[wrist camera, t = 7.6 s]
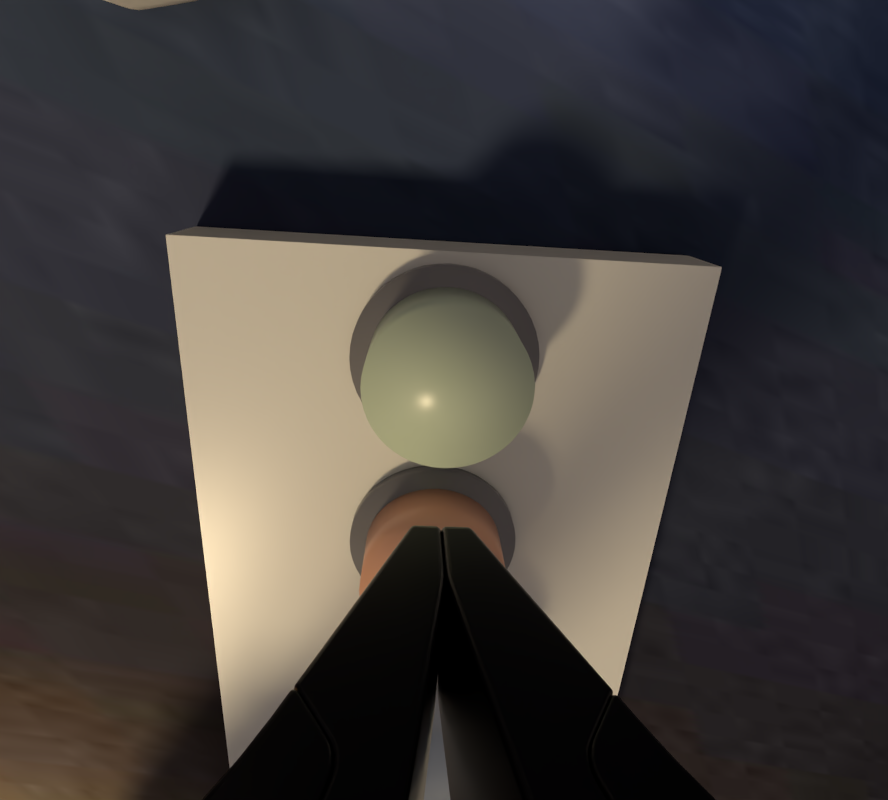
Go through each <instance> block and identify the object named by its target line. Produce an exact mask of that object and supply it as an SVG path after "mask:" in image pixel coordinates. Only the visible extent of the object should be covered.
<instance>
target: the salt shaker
mask: <svg viewBox="0 0 888 800" xmlns="http://www.w3.org/2000/svg"><path fill="white" fill-rule="evenodd" d="M105 1H108V2H111V3H114V4H117V5H120V6H123V7H126V8H129V9H135V10H144V9H150V8H156V7H162V6H168V5H174V4H181V3H187V2H193V1H198V0H105Z"/></svg>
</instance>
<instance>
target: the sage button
mask: <svg viewBox="0 0 888 800" xmlns="http://www.w3.org/2000/svg"><path fill="white" fill-rule="evenodd" d="M360 390H361V400H362V405H363V409H364V412H365V415H366V418H367V420H368V422H369V424H370V426H371V428H372V429H373V431H374V432H375V433H376V435H377V436H378V437H379V438H380V440H381V441H382V442H383V443H384V444H385V445H386V446H388V447H389V448H390V449H391V450H392V451H394V452H395V453H397V454H398V455H400V456H401V457H403V458H405V459H407V460H410V461H412V462H415V463H418V464H420V465H424V466H429V467H436V468H457V467H464V466H468V465H472V464H476V463H478V462H481V461H483V460H486V459H488V458H490V457H491V456H493V455H495V454H496V453H498V452H499V451H501V450H502V449H504V448H505V447H506V446H507V445H508V444H509V443H510V442H511V441H512V440H513V439H514V438H515V437H516V436H517V435H518V433H519V432H520V430H521V429H522V428H523V426H524V424H525V422H526V420H527V418H528V416H529V414H530V411H531V408H532V405H533V400H534V394H535V378H534V371H533V367H532V363H531V360H530V358H529V355H528V353H527V351H526V349H525V347H524V345H523V344H522V342H521V340H520V338H519V336H518V335H517V333H516V331H515V329H514V327H513V326H512V324H511V322H510V320H509V319H508V318H507V316H506V315H505V314H504V313H503V312H502V311H501V310H500V309H499V308H498V307H497V306H496V305H495V304H494V303H492V302H491V301H490V300H488V299H487V298H485V297H483V296H481V295H479V294H477V293H474V292H472V291H469V290H465V289H461V288H453V287H437V288H430V289H426V290H423V291H419V292H417V293H414V294H412V295H410V296H408V297H406V298H404V299H403V300H401V301H400V302H398V303H397V304H396V305H395V306H393V307H392V308H391V309H390V310H389V311H388V312H387V313H386V314H385V316H384V317H383V318H382V320H381V321H380V322H379V324H378V326H377V328H376V330H375V332H374V334H373V337H372V340H371V343H370V346H369V350H368V353H367V356H366V360H365V363H364V367H363V371H362V376H361V386H360Z"/></svg>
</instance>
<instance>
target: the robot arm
mask: <svg viewBox="0 0 888 800" xmlns="http://www.w3.org/2000/svg"><path fill="white" fill-rule="evenodd" d="M437 685H438V700H439V711H440V719H441V727H442V735H443V743H444V751H445V759H446V768H447V776H448V784H449V792H450V800H715V799H714V798H713V797H712V796H711V795H710V794H709V793H708V792H707V791H706V790H705V789H704V788H703V787H702V786H701V785H700V784H699V783H698V782H697V781H696V780H695V779H694V778H693V777H692V776H691V775H690V774H689V773H688V772H687V771H686V770H685V769H684V768H683V767H682V766H681V765H680V764H679V763H678V762H677V761H676V760H675V759H674V758H673V756H672V755H671V754H670V753H669V752H668V751H667V750H666V749H665V748H664V747H663V746H662V744H661V743H660V742H659V741H658V740H657V739H656V738H655V737H654V736H653V735H652V734H651V732H650V731H649V730H648V729H647V728H646V727H645V726H644V725H643V724H642V723H641V722H640V721H639V719H638V718H637V717H636V716H635V715H634V714H633V713H632V711H631V710H630V709H629V708H628V707H627V706H626V705H625V703H624V702H623V701H622V700H621V699H620V698H619V697H618V696H617V695H613V691H612V689H611V688H610V687H609V686H608V684H607V683H606V682H605V681H604V680H603V679H602V677H601V676H600V675H599V674H598V673H597V672H596V671H595V669H594V668H593V667H592V666H591V665H590V664H589V663H588V661H587V660H586V659H585V658H584V657H583V656H582V655H581V653H580V652H579V651H578V650H577V649H576V648H575V647H574V645H573V644H572V643H571V642H570V641H569V640H568V639H567V637H566V636H565V635H564V634H563V633H562V632H561V631H560V629H559V628H558V627H557V626H556V625H555V624H554V623H553V621H552V620H551V619H550V618H549V617H548V616H547V615H546V613H545V612H544V611H543V610H542V609H541V608H540V607H539V605H538V604H537V603H536V602H535V601H534V600H533V599H532V597H531V596H530V595H529V594H528V593H527V592H526V591H525V589H524V588H523V587H522V586H521V585H520V584H519V583H518V581H517V580H516V579H515V578H514V577H513V576H512V575H511V573H510V572H509V571H508V570H507V569H506V568H505V567H504V565H503V564H502V563H501V562H500V561H499V560H498V559H497V557H496V556H495V555H494V554H493V553H492V552H491V550H490V549H489V548H488V547H487V546H486V545H485V544H484V542H483V541H482V540H481V539H480V538H479V537H478V536H477V534H476V533H475V532H474V531H473V530H472V529H471V528H469V527H444V528H442V530H440V528H438V527H437V526H412V527H411V528H410V529H409V530H408V531H407V533H406V534H405V535H404V537H403V538H402V540H401V541H400V542H399V544H398V545H397V546H396V548H395V549H394V550H393V552H392V553H391V555H390V556H389V557H388V559H387V560H386V561H385V563H384V564H383V565H382V567H381V568H380V570H379V571H378V572H377V574H376V575H375V576H374V578H373V579H372V580H371V582H370V583H369V585H368V586H367V587H366V589H365V590H364V591H363V593H362V594H361V595H360V597H359V598H358V600H357V601H356V602H355V604H354V605H353V606H352V608H351V609H350V610H349V612H348V613H347V615H346V616H345V617H344V619H343V620H342V621H341V623H340V624H339V625H338V627H337V628H336V630H335V631H334V632H333V634H332V635H331V636H330V638H329V639H328V640H327V642H326V643H325V644H324V646H323V647H322V649H321V650H320V651H319V653H318V654H317V655H316V657H315V658H314V659H313V661H312V662H311V664H310V665H309V666H308V668H307V669H306V670H305V672H304V673H303V674H302V676H301V677H300V679H299V680H298V681H297V683H296V684H295V686H294V689H293V690H291V691H290V692H289V693H288V694H287V696H286V697H285V698H284V700H283V701H282V703H281V704H280V705H279V707H278V708H277V709H276V711H275V712H274V714H273V715H272V716H271V718H270V719H269V720H268V721H267V723H266V724H265V725H264V727H263V728H262V729H261V730H260V732H259V733H258V734H257V735H256V737H255V738H254V739H253V741H252V742H251V743H250V744H249V746H248V747H247V748H246V750H245V751H244V752H243V753H242V755H241V756H240V757H239V758H238V759H237V761H236V762H235V763H234V764H233V765H232V766H231V767H230V769H229V770H228V771H227V772H226V773H225V774H224V775H223V777H222V778H221V779H220V780H219V781H218V782H217V783H216V784H215V786H214V787H213V788H212V789H211V790H210V791H209V792H208V794H207V795H206V796H205V797H204V798H203V799H202V800H424V794H425V785H426V777H427V769H428V761H429V752H430V744H431V736H432V728H433V720H434V711H435V701H436V689H437Z"/></svg>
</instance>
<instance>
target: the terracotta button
mask: <svg viewBox="0 0 888 800" xmlns="http://www.w3.org/2000/svg"><path fill="white" fill-rule="evenodd" d="M412 526H437V527H438V528H440V530H442V528H444V527H469V528H471V529H472V530H473V531H474V532H475V533H476V534H477V536H478V537H479V538H480V539H481V540H482V541H483V542H484V544H485V545H486V546H487V547H488V548H489V549H490V550H491V552H492V553H493V554H494V555H495V556H496V557H497V559H498V560H499V561H500V562H501V563H502V564H503V565H504V567H505V563H504V558H503V553H502V548H501V544H500V539H499V534H498V530H497V527H496V525H495V523H494V520H493V519H492V517H491V516H490V514H489V513H488V512H487V511H486V510H485V508H484V507H482V506H481V505H480V504H479V503H478V502H476V501H474V500H473V499H471V498H470V497H467V496H465V495H463V494H460V493H457V492H454V491H450V490H444V489H424V490H418V491H414V492H410V493H407V494H405V495H402V496H400V497H398V498H396V499H394V500H393V501H391V502H390V503H388V504H387V505H386V506H385V507H384V508H383V509H382V510H381V511H380V512H379V513H378V514H377V515H376V517H375V518H374V520H373V521H372V523H371V525H370V528H369V530H368V534H367V539H366V545H365V552H364V559H363V565H362V572H361V578H360V587H359V596H360V595H361V594H362V593H363V591H364V590H365V589H366V587H367V586H368V585H369V583H370V582H371V580H372V579H373V578H374V576H375V575H376V574H377V572H378V571H379V570H380V568H381V567H382V565H383V564H384V563H385V561H386V560H387V559H388V557H389V556H390V555H391V553H392V552H393V550H394V549H395V548H396V546H397V545H398V544H399V542H400V541H401V540H402V538H403V537H404V535H405V534H406V533H407V531H408V530H409V529H410V528H411V527H412Z"/></svg>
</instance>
